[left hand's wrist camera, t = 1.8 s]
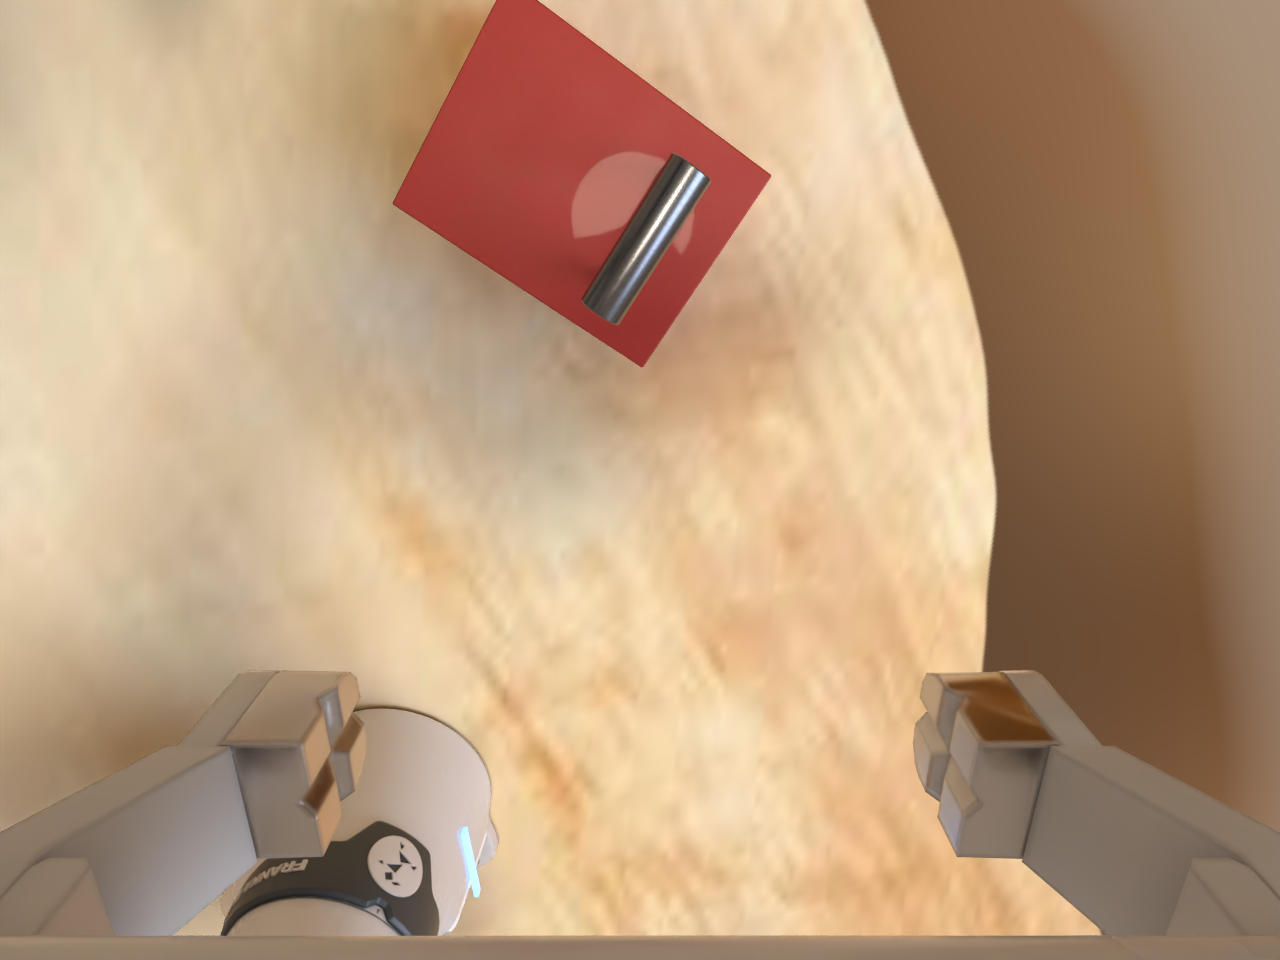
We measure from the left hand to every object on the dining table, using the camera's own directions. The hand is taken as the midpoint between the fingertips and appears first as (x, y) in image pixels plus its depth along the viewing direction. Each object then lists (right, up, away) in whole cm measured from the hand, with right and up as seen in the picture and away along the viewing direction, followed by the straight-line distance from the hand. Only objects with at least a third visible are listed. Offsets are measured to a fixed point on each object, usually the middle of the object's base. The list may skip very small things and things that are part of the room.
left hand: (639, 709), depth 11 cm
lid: (-3, +16, +22) cm, 28 cm away
